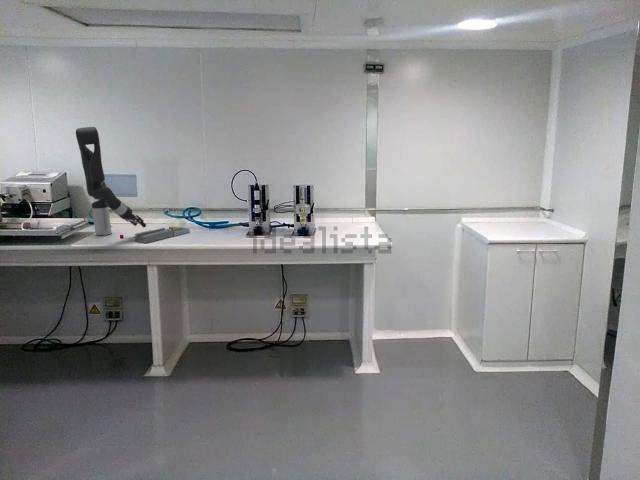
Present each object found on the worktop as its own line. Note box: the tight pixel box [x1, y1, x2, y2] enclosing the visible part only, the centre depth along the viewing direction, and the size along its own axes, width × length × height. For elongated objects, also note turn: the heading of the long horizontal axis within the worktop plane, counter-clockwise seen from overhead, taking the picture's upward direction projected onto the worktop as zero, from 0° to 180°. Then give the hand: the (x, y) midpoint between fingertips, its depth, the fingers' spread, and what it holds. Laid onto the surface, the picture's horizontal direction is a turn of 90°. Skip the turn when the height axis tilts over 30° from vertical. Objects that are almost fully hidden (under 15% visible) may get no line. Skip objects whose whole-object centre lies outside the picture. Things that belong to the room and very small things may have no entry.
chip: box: [168, 225, 177, 232], centre depth 305 cm, size 4×4×3 cm
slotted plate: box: [134, 227, 174, 244], centre depth 295 cm, size 20×10×4 cm, turn 146°
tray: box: [165, 226, 190, 237], centre depth 308 cm, size 12×11×2 cm
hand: (140, 225), depth 299 cm, fingers open, 8 cm apart
